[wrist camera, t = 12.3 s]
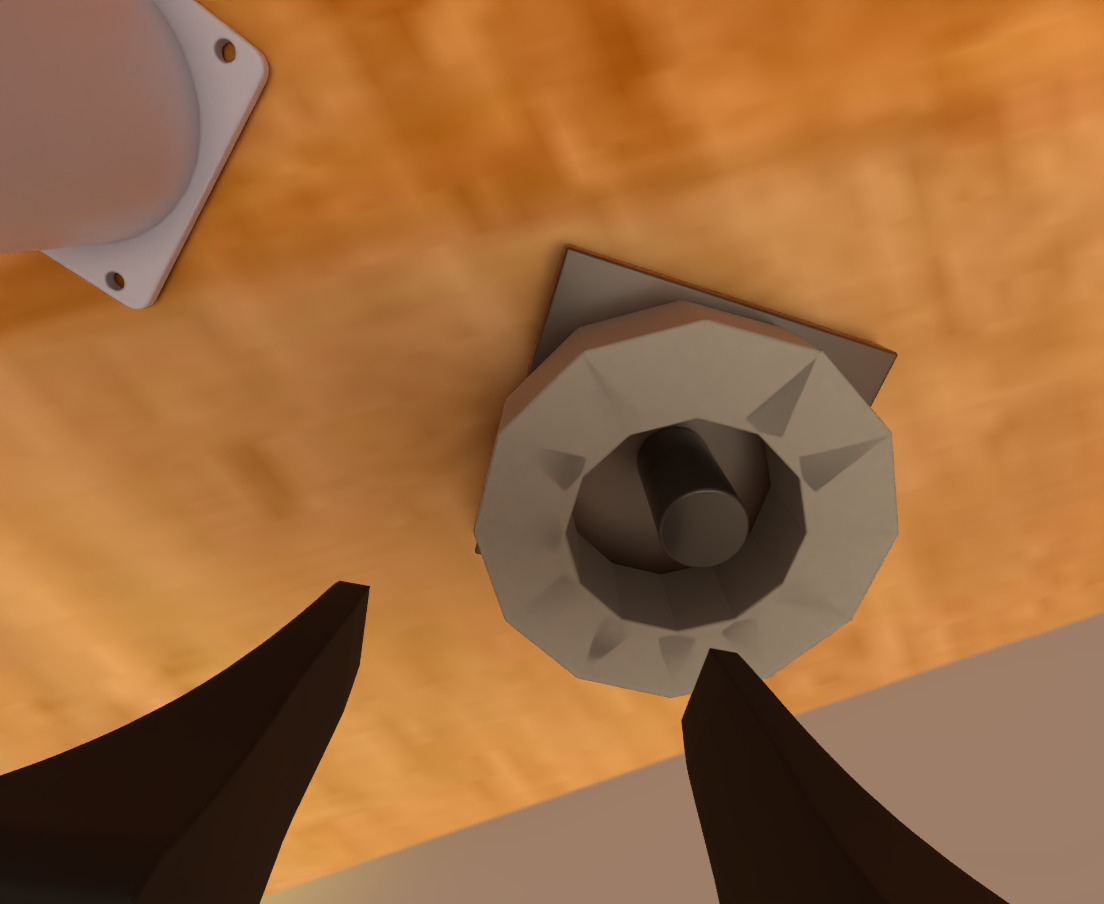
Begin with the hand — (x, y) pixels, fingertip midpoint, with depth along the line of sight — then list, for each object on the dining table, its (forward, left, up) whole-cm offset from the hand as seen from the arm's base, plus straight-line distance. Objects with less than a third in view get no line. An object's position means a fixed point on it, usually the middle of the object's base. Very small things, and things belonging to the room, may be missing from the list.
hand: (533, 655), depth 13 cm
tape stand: (+2, +4, -8) cm, 9 cm away
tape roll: (+3, +3, -7) cm, 8 cm away
